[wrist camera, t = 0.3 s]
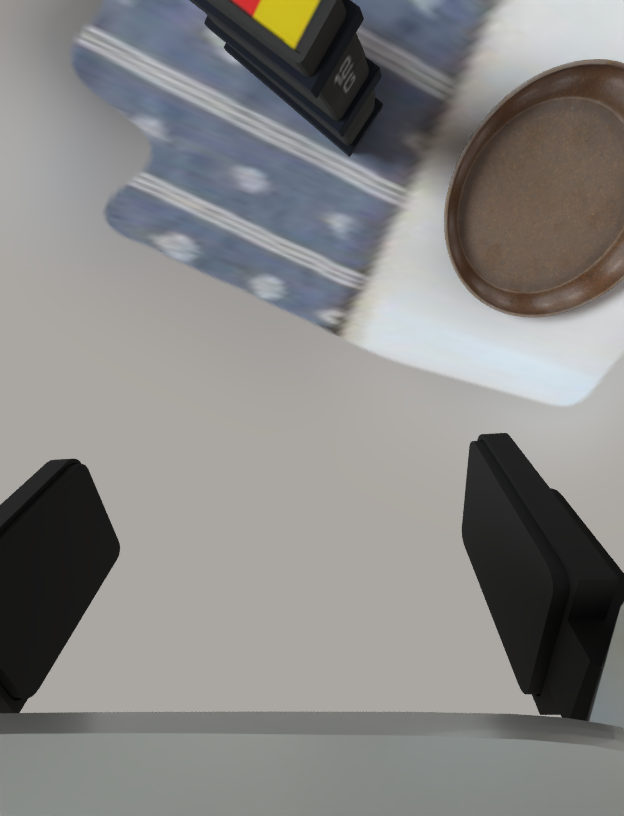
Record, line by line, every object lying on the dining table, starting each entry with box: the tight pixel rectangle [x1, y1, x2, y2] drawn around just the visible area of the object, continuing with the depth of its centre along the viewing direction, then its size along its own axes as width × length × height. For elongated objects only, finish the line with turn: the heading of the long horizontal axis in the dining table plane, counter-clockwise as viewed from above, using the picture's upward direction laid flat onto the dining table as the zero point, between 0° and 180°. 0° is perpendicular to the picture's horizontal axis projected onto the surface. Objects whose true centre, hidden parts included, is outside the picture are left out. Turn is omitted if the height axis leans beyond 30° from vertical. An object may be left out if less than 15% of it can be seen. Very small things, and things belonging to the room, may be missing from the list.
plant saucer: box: [444, 59, 624, 317], centre depth 33 cm, size 18×18×3 cm
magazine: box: [190, 0, 383, 157], centre depth 26 cm, size 4×13×15 cm, turn 54°
